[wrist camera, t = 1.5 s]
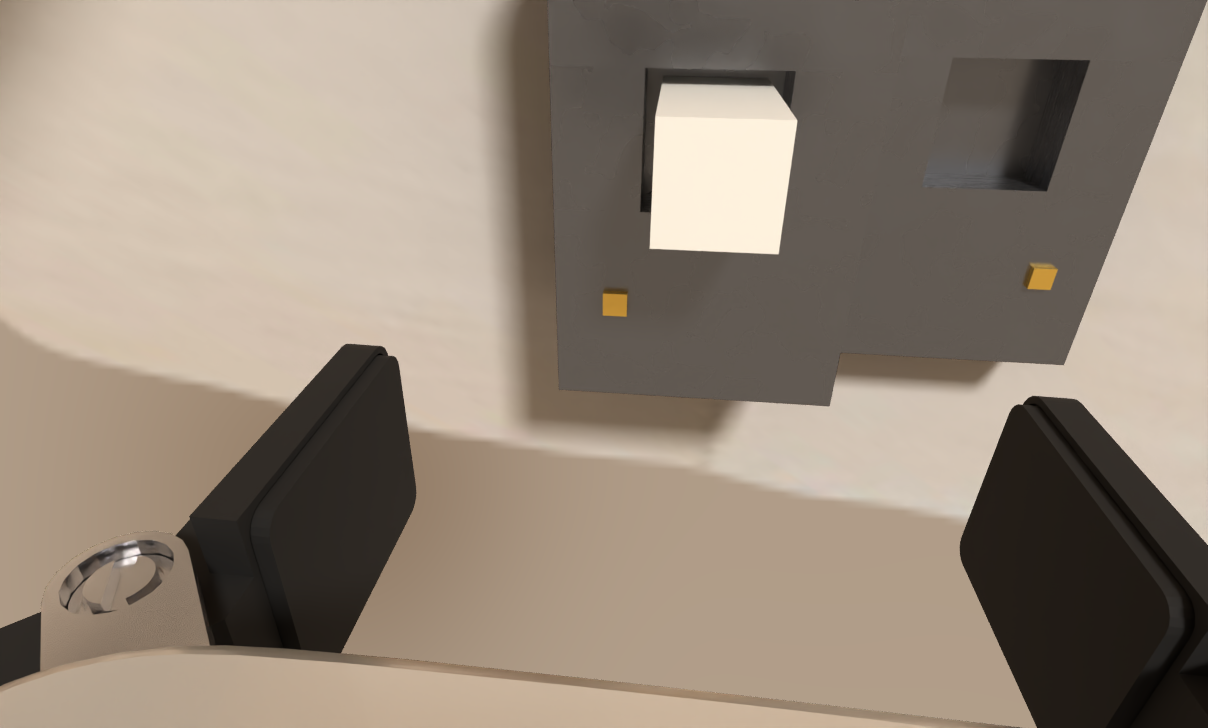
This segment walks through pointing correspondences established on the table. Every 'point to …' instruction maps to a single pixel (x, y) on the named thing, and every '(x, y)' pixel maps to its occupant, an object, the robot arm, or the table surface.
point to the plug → (720, 165)
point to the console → (853, 183)
